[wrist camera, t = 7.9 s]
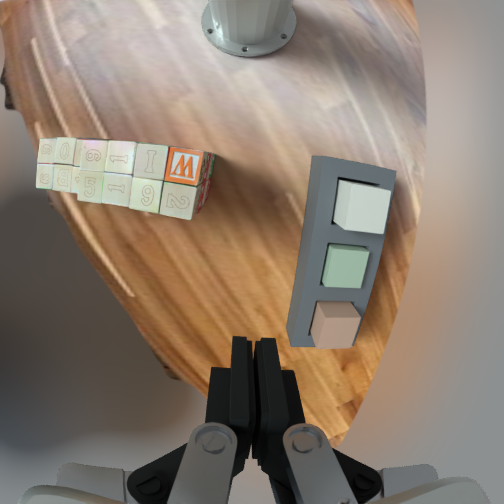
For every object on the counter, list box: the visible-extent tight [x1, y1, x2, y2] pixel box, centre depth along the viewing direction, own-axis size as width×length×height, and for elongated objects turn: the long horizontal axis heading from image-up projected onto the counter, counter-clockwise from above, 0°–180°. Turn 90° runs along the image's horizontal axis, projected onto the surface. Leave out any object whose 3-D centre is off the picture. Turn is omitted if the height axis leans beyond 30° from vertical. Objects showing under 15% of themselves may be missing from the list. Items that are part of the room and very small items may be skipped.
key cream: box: [332, 179, 391, 234], centre depth 30 cm, size 5×5×5 cm
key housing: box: [286, 156, 396, 347], centre depth 35 cm, size 26×10×6 cm, turn 175°
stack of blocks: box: [36, 137, 216, 220], centre depth 27 cm, size 21×6×12 cm, turn 77°
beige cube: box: [310, 300, 361, 349], centre depth 35 cm, size 5×5×5 cm
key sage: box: [321, 242, 369, 288], centre depth 35 cm, size 5×5×5 cm
